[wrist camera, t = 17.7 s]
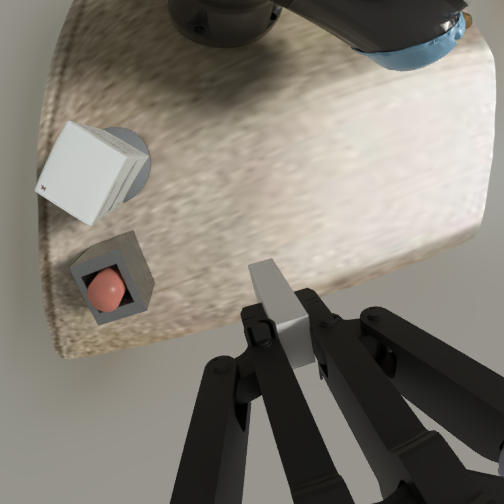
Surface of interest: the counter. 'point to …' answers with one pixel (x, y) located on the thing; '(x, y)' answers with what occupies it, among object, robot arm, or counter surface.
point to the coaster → (139, 144)
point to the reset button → (107, 289)
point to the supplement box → (89, 172)
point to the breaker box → (132, 270)
